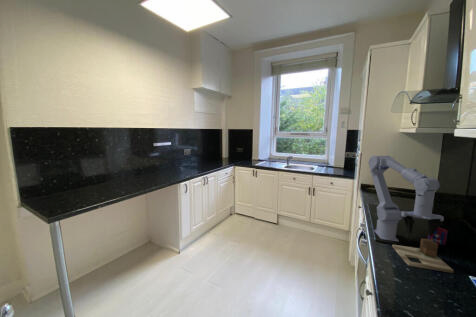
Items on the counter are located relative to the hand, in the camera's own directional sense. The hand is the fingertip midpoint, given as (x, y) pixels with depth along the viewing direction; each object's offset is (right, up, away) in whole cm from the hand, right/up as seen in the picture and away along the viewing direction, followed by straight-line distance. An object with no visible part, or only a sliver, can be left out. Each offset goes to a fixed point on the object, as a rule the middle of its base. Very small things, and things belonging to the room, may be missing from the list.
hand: (419, 233), depth 88 cm
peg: (+4, -9, 0) cm, 10 cm away
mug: (+22, -9, +14) cm, 28 cm away
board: (-1, -11, -1) cm, 11 cm away
